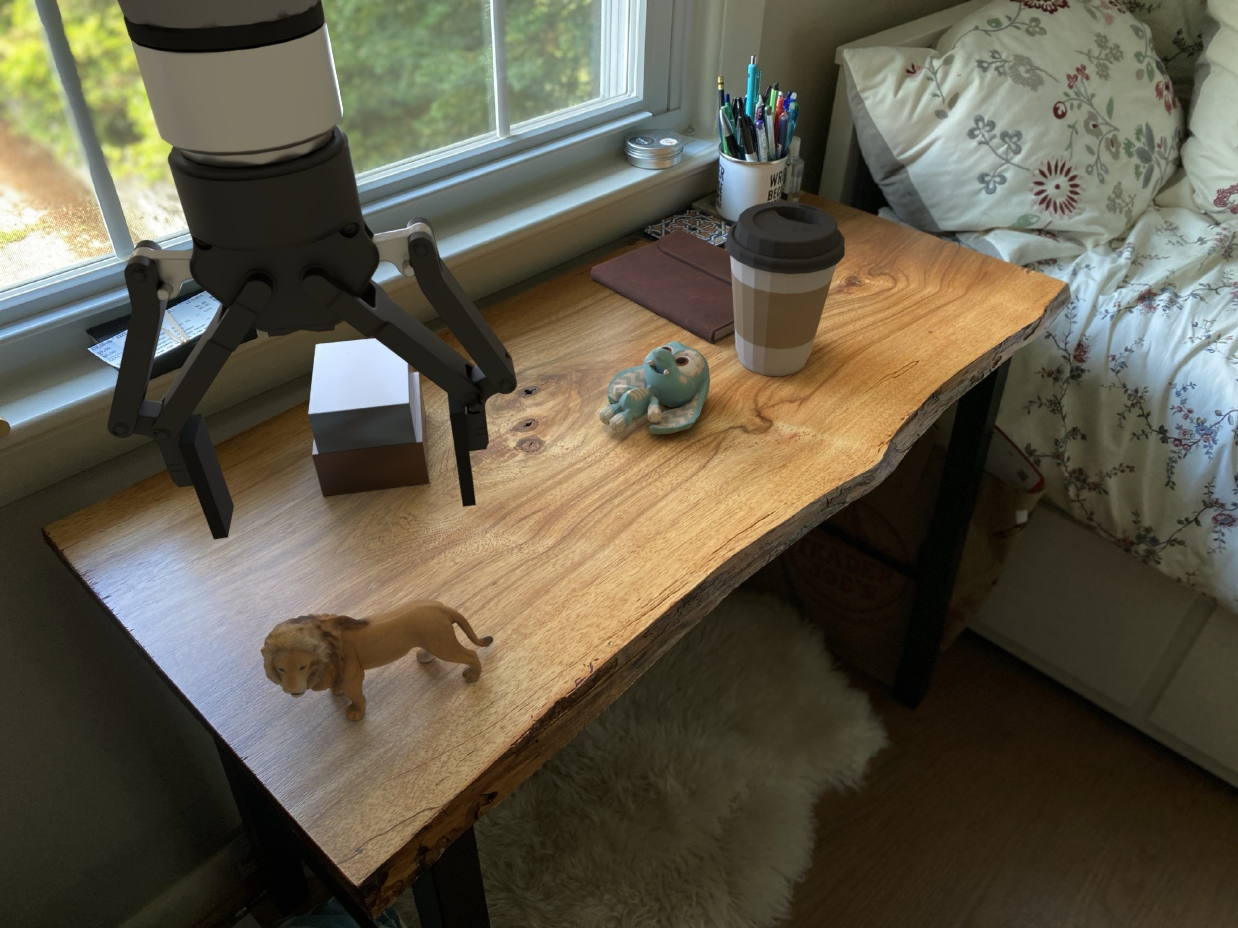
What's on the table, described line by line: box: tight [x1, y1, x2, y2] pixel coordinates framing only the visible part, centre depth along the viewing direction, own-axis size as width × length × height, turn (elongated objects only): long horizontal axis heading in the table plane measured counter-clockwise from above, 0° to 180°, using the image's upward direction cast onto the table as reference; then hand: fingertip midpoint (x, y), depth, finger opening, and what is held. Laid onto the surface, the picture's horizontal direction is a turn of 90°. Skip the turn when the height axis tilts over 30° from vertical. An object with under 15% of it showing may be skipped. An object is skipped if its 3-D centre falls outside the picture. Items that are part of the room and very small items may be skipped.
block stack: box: [307, 337, 430, 497], centre depth 82 cm, size 9×11×8 cm
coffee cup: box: [724, 201, 846, 377], centre depth 92 cm, size 11×11×15 cm
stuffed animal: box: [598, 340, 711, 435], centre depth 87 cm, size 11×7×12 cm
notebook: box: [590, 229, 735, 344], centre depth 107 cm, size 15×20×2 cm
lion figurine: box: [259, 598, 495, 721], centre depth 61 cm, size 15×5×9 cm, turn 121°
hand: (348, 507), depth 53 cm, fingers open, 13 cm apart
